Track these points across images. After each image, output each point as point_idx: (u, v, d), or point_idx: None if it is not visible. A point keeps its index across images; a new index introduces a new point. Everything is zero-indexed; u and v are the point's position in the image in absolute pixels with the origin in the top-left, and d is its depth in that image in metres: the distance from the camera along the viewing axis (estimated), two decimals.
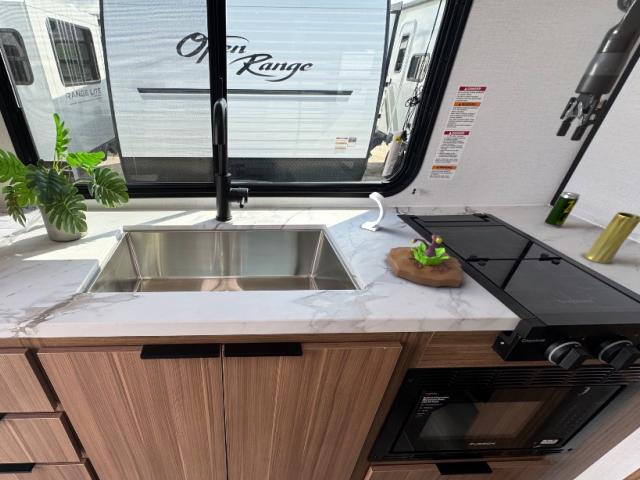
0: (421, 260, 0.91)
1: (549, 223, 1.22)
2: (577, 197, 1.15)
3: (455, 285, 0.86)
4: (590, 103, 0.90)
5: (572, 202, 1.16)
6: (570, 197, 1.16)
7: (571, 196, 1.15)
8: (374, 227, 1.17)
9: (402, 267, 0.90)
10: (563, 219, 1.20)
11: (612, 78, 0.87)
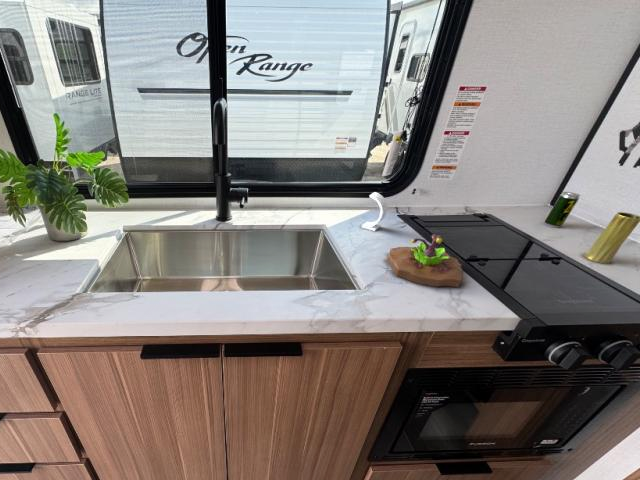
0: (421, 260, 0.91)
1: (549, 223, 1.22)
2: (577, 197, 1.15)
3: (455, 285, 0.86)
4: None
5: (572, 202, 1.16)
6: (570, 197, 1.16)
7: (571, 196, 1.15)
8: (374, 227, 1.17)
9: (402, 267, 0.90)
10: (563, 219, 1.20)
11: None
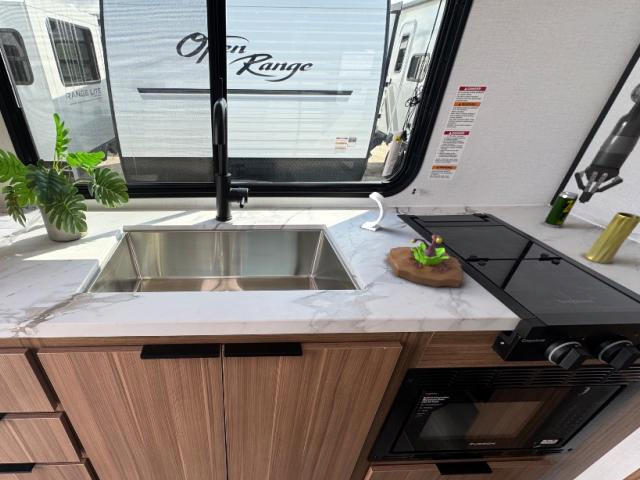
0: (421, 260, 0.91)
1: (549, 223, 1.22)
2: (576, 196, 1.15)
3: (455, 285, 0.86)
4: (617, 174, 1.07)
5: (571, 202, 1.16)
6: (569, 197, 1.16)
7: (570, 196, 1.16)
8: (374, 227, 1.17)
9: (402, 267, 0.90)
10: (563, 219, 1.20)
11: None
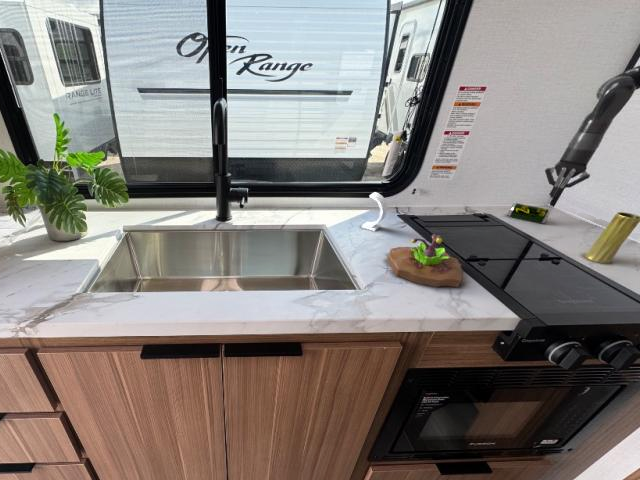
0: (421, 260, 0.91)
1: (541, 221, 1.23)
2: (513, 205, 1.28)
3: (455, 285, 0.86)
4: (584, 170, 1.12)
5: (517, 209, 1.26)
6: (511, 211, 1.28)
7: (510, 210, 1.28)
8: (374, 227, 1.17)
9: (402, 267, 0.90)
10: (538, 211, 1.23)
11: None
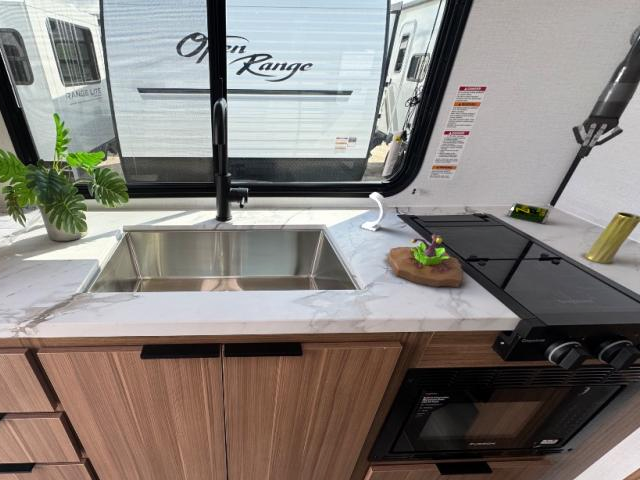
0: (421, 260, 0.91)
1: (541, 220, 1.23)
2: (513, 205, 1.28)
3: (455, 285, 0.86)
4: (616, 125, 1.04)
5: (518, 209, 1.27)
6: (511, 211, 1.28)
7: (510, 210, 1.28)
8: (374, 227, 1.17)
9: (402, 267, 0.90)
10: (538, 211, 1.23)
11: None
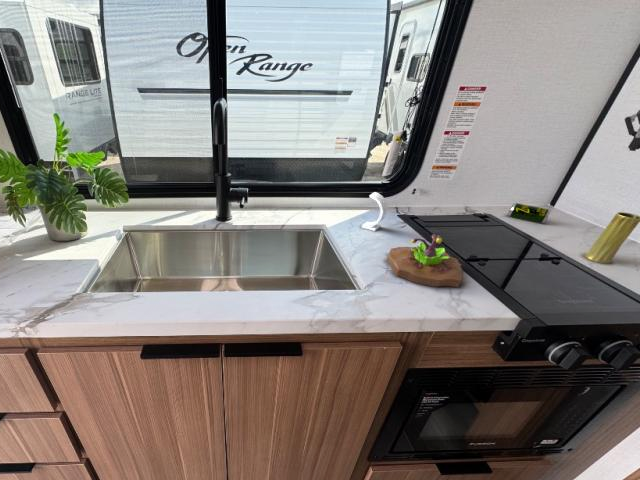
0: (421, 260, 0.91)
1: (541, 220, 1.23)
2: (513, 205, 1.28)
3: (455, 285, 0.86)
4: None
5: (518, 209, 1.27)
6: (511, 211, 1.28)
7: (510, 210, 1.28)
8: (374, 227, 1.17)
9: (402, 267, 0.90)
10: (538, 211, 1.23)
11: None
